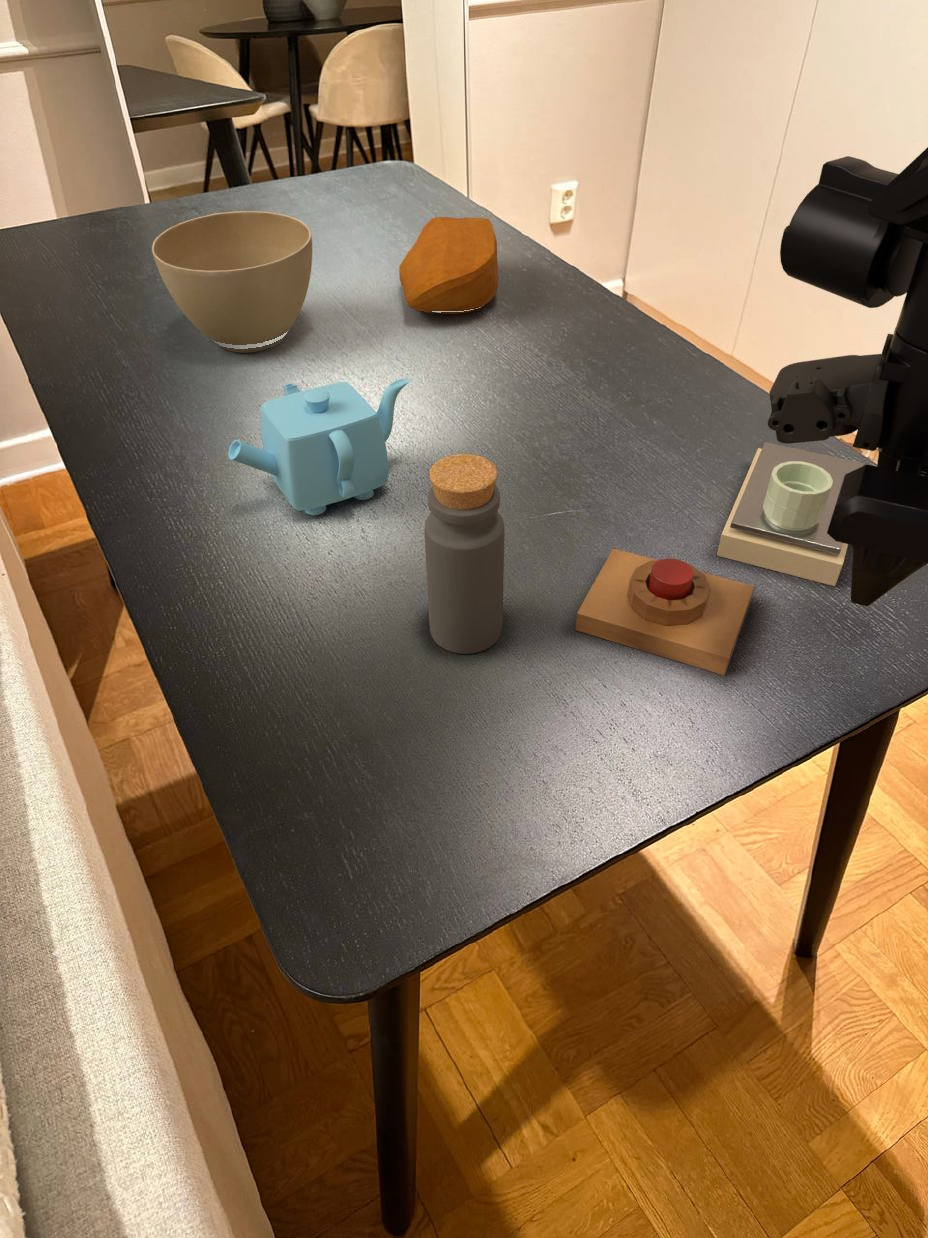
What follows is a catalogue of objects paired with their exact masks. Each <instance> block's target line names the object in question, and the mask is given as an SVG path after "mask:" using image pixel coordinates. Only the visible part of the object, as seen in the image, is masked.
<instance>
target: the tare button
mask: <svg viewBox="0 0 928 1238" xmlns="http://www.w3.org/2000/svg"><path fill="white" fill-rule="evenodd" d="M658 560H659V561H657V562H655V563H654V565H653V566H652V569H651V575H650V581H649V589H650V591H651V592H652V594H654V595H655V596H656V597H659V598H663V599H666V600H682V599H684V598H685V597H687V596H688V594H689V593H690V589H691V584H692V579H693V570H692V568H691V567H690V566H689V565H690V564H689V563H687V562H685V561H684V560H681V559H677V558H671V557H670V558H669V557H668V558H662V559H658ZM688 564H689V565H688Z"/></svg>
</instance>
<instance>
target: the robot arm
mask: <svg viewBox="0 0 928 1238" xmlns="http://www.w3.org/2000/svg"><path fill="white" fill-rule="evenodd" d="M805 195H806V196H805V197H804V198H803V200H801V202H800V204H799V205H798V206H797V209H796V210H795V211H794V213H793V215H792V217H791V220H790V222H789V224H788V225H786V226H785V228H784V230H783V233H782V235H781V241H780V248H779V256H780V264H781V267H782V270H783V272H784V273H785V274H786V275H787V276H788V277H791V278H793V279H795V280H797V281H799V282H802V283H805V284H808V285H811V286H812V287H816V288H818V289H820V290H823V291H826V292H828V293H831V294H833V295H835V296H838V297H840V298H843V299H846V300H848V301H850V302H853V303H855V304H858V305H861V306H863V307H866V308H869V309H877V308H880V307H882V306H884V305H886V304H887V303H888V302H890V301H891V300H893V299H894V298H895V297H896V298H897V297H902V296H904V295H905V297H904V301H903V303H902V307H901V310H900V312H899V313H900V314H899V317H898V319H897V323H896V327H895V328H894V331H893V333H887V334H886V338H885V341H884V344H883V348H882V351H881V353H875V354H863V355H862V354H861V355H859V354H847V355H840V356H832V357H825V358H819V359H812V360H805V361H798V362H794V363H790V364H788V365H786V366H783V367H782V368H780V370H779V371H778V373H777V375H776V377H775V379H774V381H773V383H772V386H771V388H770V390H769V393H768V394H769V400H770V406H771V408H770V409H771V413H770V415H769V417H768V419H767V427H768V428H769V429H770V430H771V431H775V437H776V441H778V443H781V444H788V445H789V444H790V445H791V444H797V443H798V444H800V443H810V442H811V443H812V442H821V441H823V442H824V441H826V440H828V439H830V437H831V438H832V437H840V436H841V437H842V436H846V435H851V434H853V433H855V432H856V434H855V437H854V440H853V443H852V448H855V449H861V450H865V451H871V452H875V451H878V455H877V463H876V465H872V464H869V463H867V464H863V466H862V467H860V468H858V469H856V470H853V471H851V472H849V473H847V474H845V476H844V480H843V483H842V486H841V489H840V492H839V495H838V499H837V502H836V505H835V508H834V511H833V515H832V518H831V521H830V524H829V527H828V531H827V534H828V535H830V536H831V537H832V538H833V539H834V540H835V541H837V542H841V543H846V544H848V545H850V546H851V548H852V559H851V561H852V563H851V582H850V602H851V603H853V604H856V605H860V606H863V607H869V606H871V605H872V604H874V603H875V602H876V601H878V600H879V599H880V598H881V597H884V595H886V594H888V592H889V591H890V590H892V589H893V588H895V587H896V586H898V585H899V584H900V583H902V582H903V581H904V580H906V579H907V578H908V577H910V576H911V575H913V574H915V573H916V572H917V571H919V570H921V569H922V568H924V567H925V566H927V565H928V146H927V147H926V148H925V149H924V150H923V151H921V153H919V155H917V157H916V158H914V159H913V160H912V161H911V162H910V163H909V164H908V165H907V166H906V167H905V168H903V170H901V171H900V173H896V172H893V171H889V170H886V169H882V168H879V167H876V166H874V165H873V164H871V163H869V162H868V161H866V160H864V159H861V158H858V157H853V156H850V155H848V156H844V157H839V158H837V159H832V160H829V161H826V162H824V163H823V164H822V167H821V172H820V176H819V179H818V183H817V184H816V185H815V186H814V187H813V188H812V189H811V190H810V191H809V192H808V193H807V194H805Z"/></svg>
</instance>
